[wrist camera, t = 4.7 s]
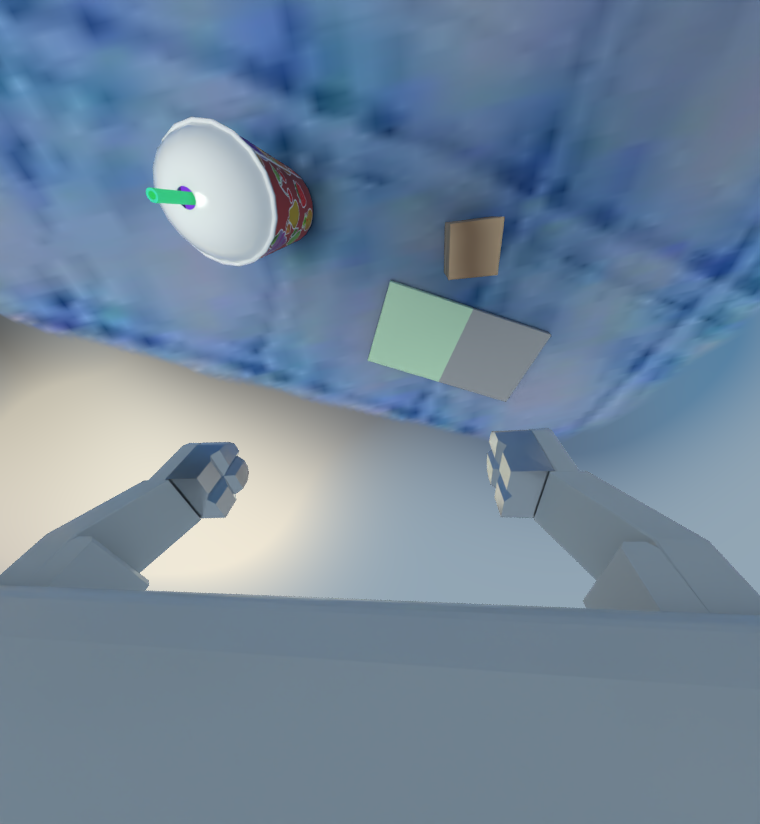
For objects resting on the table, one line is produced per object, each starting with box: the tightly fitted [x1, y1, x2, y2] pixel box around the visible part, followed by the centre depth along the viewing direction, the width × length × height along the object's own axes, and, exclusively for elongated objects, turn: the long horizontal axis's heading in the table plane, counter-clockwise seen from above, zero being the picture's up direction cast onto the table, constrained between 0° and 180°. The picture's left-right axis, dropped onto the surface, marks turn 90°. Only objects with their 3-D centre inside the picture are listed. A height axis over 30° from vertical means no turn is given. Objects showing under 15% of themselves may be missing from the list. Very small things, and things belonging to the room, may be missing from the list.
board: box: [368, 280, 551, 402], centre depth 38 cm, size 22×11×1 cm, turn 74°
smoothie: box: [146, 117, 313, 266], centre depth 23 cm, size 8×8×20 cm
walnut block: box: [444, 217, 505, 280], centre depth 30 cm, size 5×5×5 cm
